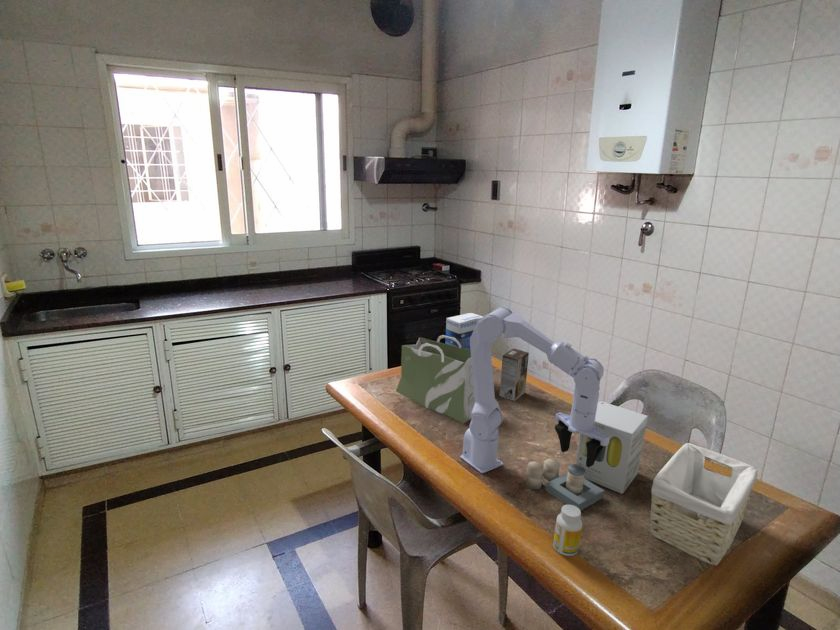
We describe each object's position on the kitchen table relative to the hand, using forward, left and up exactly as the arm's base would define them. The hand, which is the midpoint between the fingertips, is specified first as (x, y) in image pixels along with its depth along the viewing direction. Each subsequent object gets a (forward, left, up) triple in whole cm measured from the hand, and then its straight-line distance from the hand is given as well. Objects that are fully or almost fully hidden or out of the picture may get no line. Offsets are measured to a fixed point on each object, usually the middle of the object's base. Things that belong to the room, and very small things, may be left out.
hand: (577, 458), depth 123 cm
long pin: (+1, -1, -10) cm, 10 cm away
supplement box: (0, +15, -10) cm, 18 cm away
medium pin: (-8, -6, -10) cm, 14 cm away
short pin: (-8, +1, -10) cm, 12 cm away
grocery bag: (-59, +2, -10) cm, 60 cm away
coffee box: (-49, +29, -10) cm, 58 cm away
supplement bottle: (+12, -17, -10) cm, 23 cm away
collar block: (+1, 0, -10) cm, 10 cm away
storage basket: (+24, +13, -10) cm, 30 cm away
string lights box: (-68, +21, -10) cm, 72 cm away
